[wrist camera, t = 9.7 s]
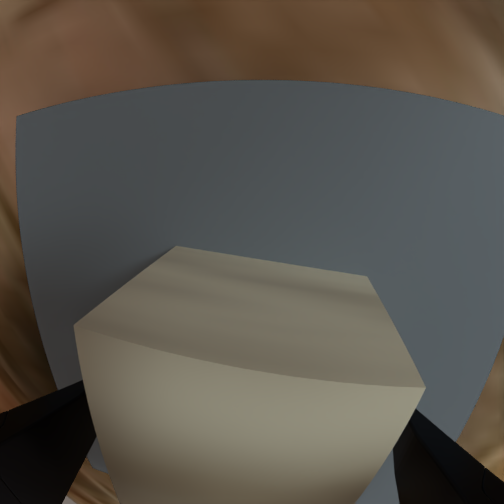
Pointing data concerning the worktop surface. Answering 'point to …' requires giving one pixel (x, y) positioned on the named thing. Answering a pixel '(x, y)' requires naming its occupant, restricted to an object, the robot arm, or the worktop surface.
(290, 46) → the worktop surface
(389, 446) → the card box
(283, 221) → the rubber mat
